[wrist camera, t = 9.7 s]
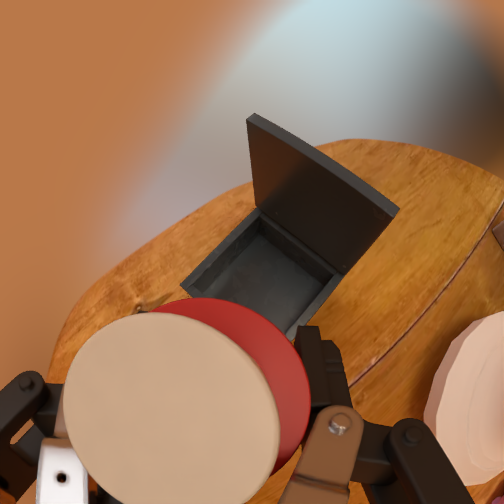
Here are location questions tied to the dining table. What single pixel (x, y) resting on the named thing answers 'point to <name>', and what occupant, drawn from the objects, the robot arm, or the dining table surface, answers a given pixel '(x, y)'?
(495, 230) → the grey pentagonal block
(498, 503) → the teapot
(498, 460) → the candle holder
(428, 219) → the dining table surface
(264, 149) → the box lid
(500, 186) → the dining table surface
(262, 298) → the box
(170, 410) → the sauce bottle
